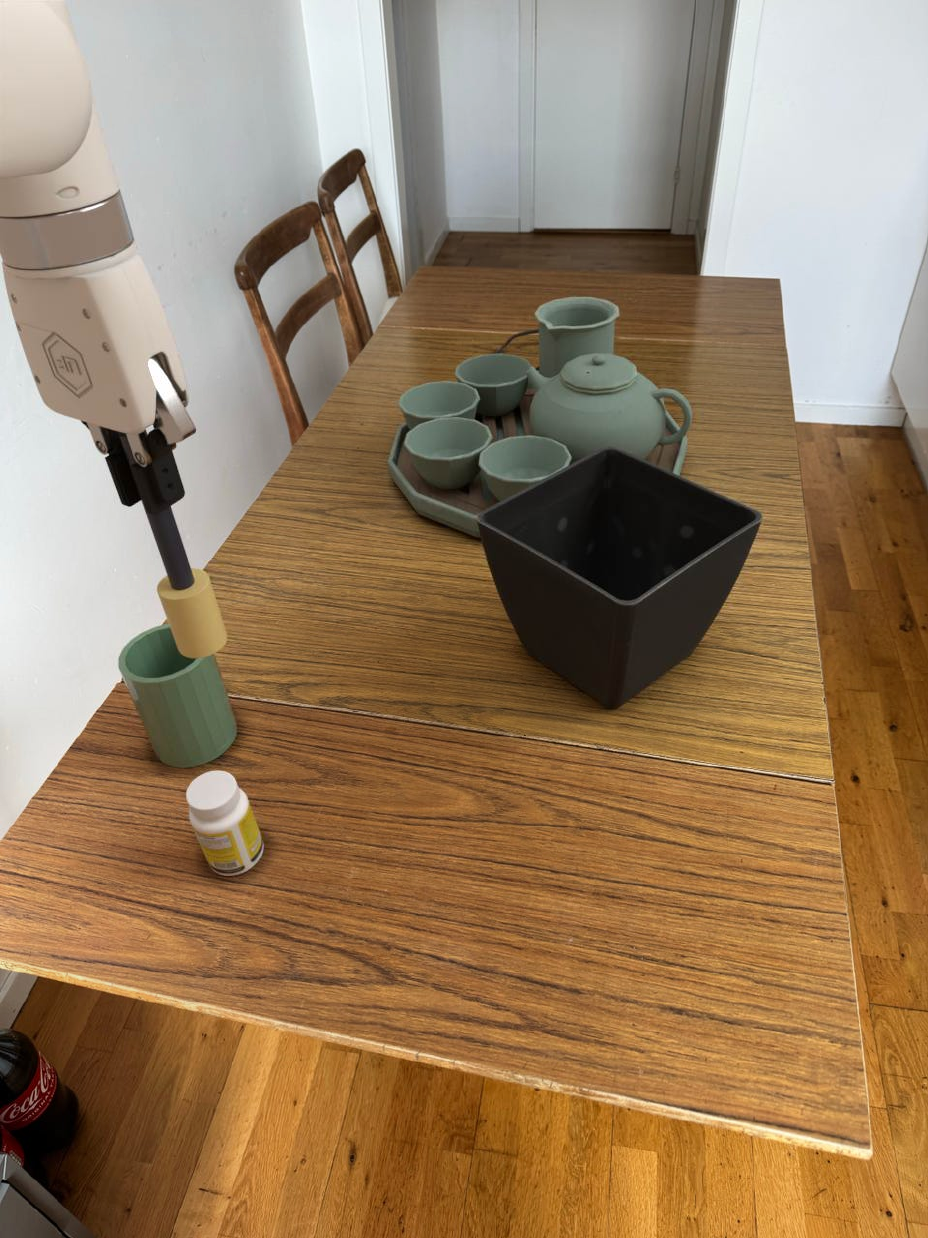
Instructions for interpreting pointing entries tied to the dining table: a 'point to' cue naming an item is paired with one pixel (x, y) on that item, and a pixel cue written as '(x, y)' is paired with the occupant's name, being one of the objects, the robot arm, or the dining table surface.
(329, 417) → the dining table surface
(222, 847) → the supplement bottle
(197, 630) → the bottle brush
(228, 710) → the green pencil cup
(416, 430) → the tea set
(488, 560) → the flower pot
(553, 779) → the dining table surface
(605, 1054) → the dining table surface
